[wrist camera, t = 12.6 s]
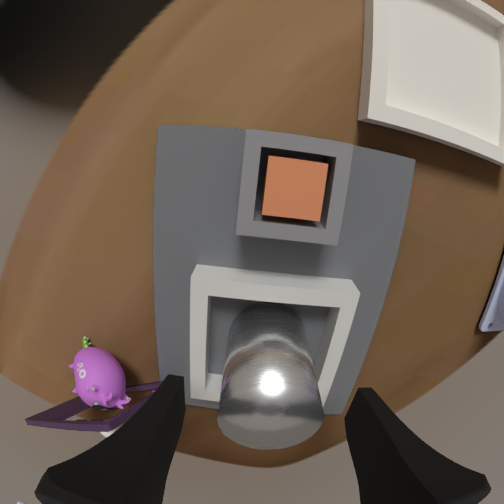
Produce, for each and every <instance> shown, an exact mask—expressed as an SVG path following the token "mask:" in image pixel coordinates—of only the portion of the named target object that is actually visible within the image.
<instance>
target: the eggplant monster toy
mask: <svg viewBox="0 0 504 504" xmlns="http://www.w3.org/2000/svg"><path fill="white" fill-rule="evenodd" d="M88 339H89V338H86V337H85V336H84V337H83V338H82V345H83V349H81V350H80V351H79V352H78V353H77V354H76V356H75V358H74V363H73V364H71V365H69V367H70V368H71V369H74V375H75V382H76V387H75V389H74V390H73V391H72V393H77V394H79V396H78V397H76V398H74V399H71V400H69V401H67V402H64V403H62V404H60V405H58V406H55V407H53V408H51V409H48V410H46V411H44V412H41V413H39V414H36V415H34V416H31V417H29V418H26V419H25V420H26V422H27V425H33V426H40V427H48V428H56V429H66V430H77V431H97V432H100V433H101V434H102V435H103V436H105V437H108V436H110V435H111V434H112V433H114V432H115V431H116V430H117V429H119V428H120V427H121V426H122V425H123V423H124V422H126V421H127V420H129V419H130V418H131V417H132V416H133V415H134V414H135V413H136V412H137V411H138V410H139V409H140V408H141V407H142V406H143V405H144V403H145V402H146V401H147V400H148V399H149V398H150V397H151V396H152V394H153V393H154V392H155V391H156V390H157V389H156V388H158V387H159V386H160V384H161V383H162V382H163V381H158V382H152V383H146V384H140V385H134V386H127V387H126V378H125V374H124V371H123V369H122V367H121V365H120V363H119V362H118V361H117V360H116V358H115V357H114V356H113V355H111V354H110V353H109V352H107V351H105V350H103V349H101V348H97V347H89V345H90V344H91V343H88ZM150 389H156V390H152V392H153V393H151V394H150V395H148V396H147V397H145V398H143V399H142V400H140V401H139V402H137V403H135V404H134V405H132V406H130V407H129V408H127V409H126V410H124V411H122V412H121V413H119V414H117V415H116V416H114V417H112V418H110V419H108V420H105V421H102V420H91V421H87V420H76V421H65V419H67V418H69V417H71V416H73V415H75V414H77V413H79V412H81V411H83V410H85V409H87V408H89V407H92V408H95V409H98V410H106V411H113V410H117V409H118V408H116V407H119V408H120V409H124V408H123V404H127V403H129V402H130V400H131V397H130V398H129V397H128V396H127V395H126V393H128V392H136V391H143V390H150ZM114 408H115V409H114Z"/></svg>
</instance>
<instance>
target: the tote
mask: <svg viewBox="0 0 504 504" xmlns="http://www.w3.org/2000/svg"><path fill="white" fill-rule="evenodd" d="M358 120H359V121H363V122H367V123H372V124H376V125H380V126H384V127H388V128H392V129H395V130H399V131H403V132H406V133H410V134H413V135H417V136H420V137H423V138H426V139H430V140H433V141H436V142H439V143H442V144H445V145H448V146H451V147H454V148H456V149H459V150H462V151H465V152H467V153H470V154H473V155H475V156H478V157H480V158H483V159H485V160H488V161H490V162H492V163H495V164H497V165H500V166H503V167H504V15H502V14H501V13H499V12H498V11H496V10H495V9H493V8H492V7H490V6H489V5H487V4H486V3H484V2H482V1H481V0H364V41H363V61H362V76H361V89H360V100H359V110H358Z"/></svg>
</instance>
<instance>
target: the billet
mask: <svg viewBox="0 0 504 504" xmlns="http://www.w3.org/2000/svg"><path fill="white" fill-rule="evenodd" d="M323 419H324V411H323V406H322V401H321V397H320V392H319V388H318V383H317V379H316V375H315V370H314V366H313V362H312V357H311V353H310V349H309V344H308V340H307V336H306V332H305V328H304V324H303V321H302V319H301V318H300V316H299V315H298V314H297V313H296V312H295V311H294V310H293V309H291V308H290V307H288V306H286V305H283V304H280V303H276V302H261V303H256V304H253V305H250V306H248V307H246V308H244V309H243V310H241V311H240V312H239V313H238V314H237V315H236V316H235V317H234V319H233V320H232V323H231V325H230V329H229V335H228V342H227V350H226V357H225V364H224V371H223V379H222V386H221V393H220V401H219V408H218V416H217V421H218V425H219V428H220V430H221V431H222V432H223V434H224V435H225V436H227V437H228V438H229V439H230V440H232V441H234V442H236V443H238V444H240V445H243V446H246V447H250V448H254V449H265V450H270V449H281V448H286V447H290V446H293V445H296V444H299V443H301V442H303V441H305V440H307V439H308V438H310V437H311V436H312V435H314V434H315V433H316V432H317V431H318V429H319V428H320V427H321V425H322V423H323Z"/></svg>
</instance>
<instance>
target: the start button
mask: <svg viewBox="0 0 504 504" xmlns="http://www.w3.org/2000/svg"><path fill="white" fill-rule="evenodd" d="M327 171H328V164H327V163H323V162H318V161H312V160H305V159H298V158H291V157H283V156H275V155H267V160H266V168H265V177H264V186H263V195H262V203H261V209H262V215H269V216H278V217H287V218H295V219H303V220H312V221H319V222H320V217H321V211H322V205H323V198H324V191H325V185H326V178H327Z"/></svg>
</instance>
